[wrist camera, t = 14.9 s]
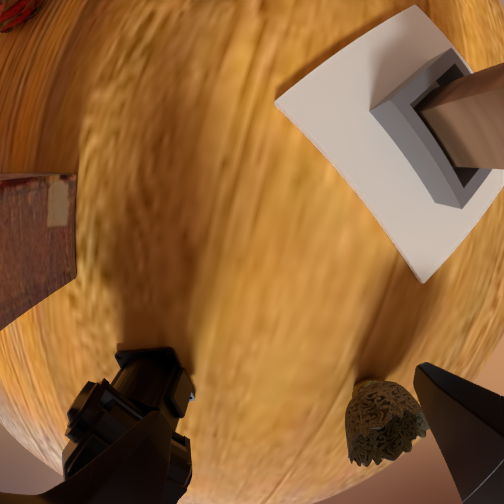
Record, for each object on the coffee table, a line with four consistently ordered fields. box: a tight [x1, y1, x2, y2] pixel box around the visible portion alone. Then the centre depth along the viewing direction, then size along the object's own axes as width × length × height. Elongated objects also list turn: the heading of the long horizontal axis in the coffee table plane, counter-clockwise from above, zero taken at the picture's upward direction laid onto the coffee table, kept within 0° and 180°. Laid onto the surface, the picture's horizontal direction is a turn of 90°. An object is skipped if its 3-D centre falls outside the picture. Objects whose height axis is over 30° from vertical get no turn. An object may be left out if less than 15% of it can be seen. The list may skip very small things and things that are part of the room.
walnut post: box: [413, 63, 504, 170], centre depth 10 cm, size 5×5×13 cm
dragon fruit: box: [0, 0, 42, 33], centre depth 9 cm, size 8×8×12 cm
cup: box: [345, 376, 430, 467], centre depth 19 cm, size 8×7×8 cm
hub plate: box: [274, 5, 504, 284], centre depth 15 cm, size 18×18×4 cm
